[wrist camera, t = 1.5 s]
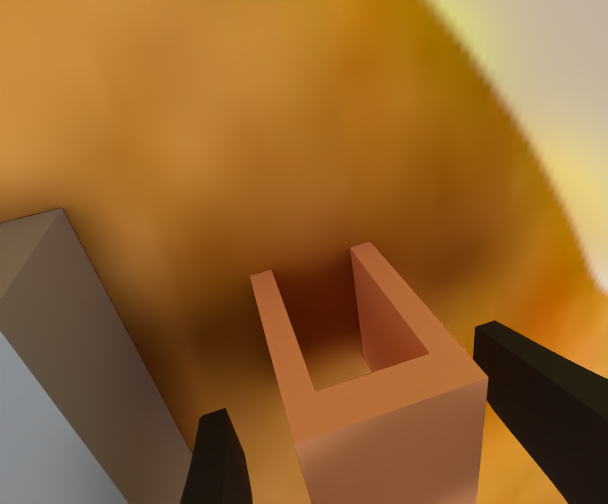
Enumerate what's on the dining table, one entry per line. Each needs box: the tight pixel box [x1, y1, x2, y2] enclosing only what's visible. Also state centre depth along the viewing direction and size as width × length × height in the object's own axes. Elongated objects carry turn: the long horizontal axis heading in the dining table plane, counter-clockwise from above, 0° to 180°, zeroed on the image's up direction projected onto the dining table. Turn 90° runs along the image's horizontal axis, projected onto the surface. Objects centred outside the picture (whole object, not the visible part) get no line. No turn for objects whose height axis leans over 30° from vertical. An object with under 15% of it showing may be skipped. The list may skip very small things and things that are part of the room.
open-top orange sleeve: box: [250, 242, 488, 504], centre depth 12 cm, size 5×4×6 cm
